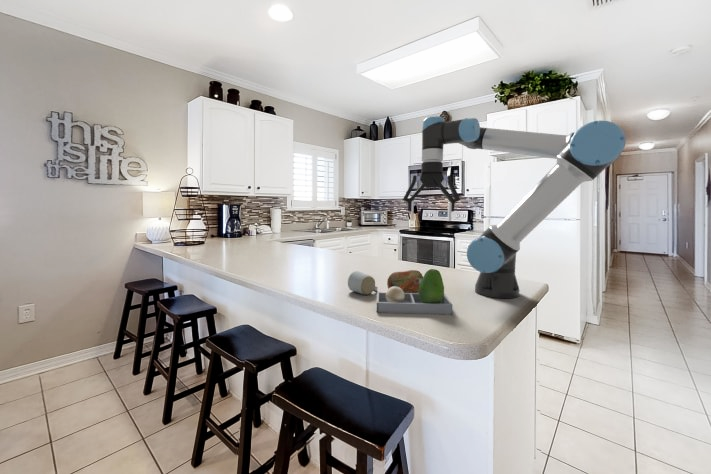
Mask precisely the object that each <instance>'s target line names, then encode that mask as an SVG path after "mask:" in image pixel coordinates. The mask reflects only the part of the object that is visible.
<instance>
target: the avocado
mask: <svg viewBox="0 0 711 474" xmlns="http://www.w3.org/2000/svg"><path fill="white" fill-rule="evenodd" d="M418 293H419V296H420V299H421V301H422V303H430V304H440V303H441V301H442V299H443V296H444V294H445V285H444V281H443V277H442V274H441V272H440V271H439V270H438V269H436V268H431V269H428V270H427V271H426V272H425V273H424V275H423V279H422V280H421V283H420V285H419V291H418Z"/></svg>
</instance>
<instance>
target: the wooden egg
mask: <svg viewBox="0 0 711 474" xmlns="http://www.w3.org/2000/svg"><path fill="white" fill-rule="evenodd" d="M385 293H386V300H387V301H388V302H393V303H402V302H403V300H404V297H405V295H404V292H403V290H402V289H401V288H399V287H396V286H393V287H391V288H389V289H388V288H387V290H386V291H385Z"/></svg>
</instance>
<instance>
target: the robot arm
mask: <svg viewBox="0 0 711 474" xmlns="http://www.w3.org/2000/svg"><path fill="white" fill-rule="evenodd" d="M421 134H422V135H421V136H422V137H421V139H422V140H421V141H422V142H421V145H422V146H421V162H422V163H421V167H420V168H421V171H420V173H421V174H420V176H419V175H418V176H417V175H413V176H412V177H411V178H412V179H411V182H410V184H409V186H408V188H407V191H406V192H405V194H404V196H403V199H402V200H403V202H407V211H408V212H410V221H414V210H415V209H414V205H415V204H414V202H413V201H414V200H415V198H416V197H417V196H418V195H419V194H420V193H421V191H423V190H424V189H425V188H427V189H431V188H432V189H439V190H440V191H441V193H442V194H443V195H444V196H445V197H446V199H447V200H448V201H449V202H448V203H447V218H446V220H447V222H451V221H452V212H455V205H456V204H455V203H457V202H459V201H460V200H461V198H460V196H459V194H458V192H457V189H456V188H455V186H454V184H453V179H452V175H446V176H444V173H443V171H444V170H443V161H444V145H448V144H450V145H451V144H460V145H462V146H464V147H466V148H467V149H470V150H477V149H478V150H487V151H492V152H493V151H494V152H502V153H507V154H508V153H509V154H515V155H516V154H517V155H523V156H531V157H539V158H545V159H546V158H547V159H553V160H554V159H555V160H556V164H555V165H554V166H553V167H552V168H551V169H550V170H549V171H548V172H546V174H545V175H544V177H542V178H541V180H540V181H539V182H537V183H536V185H535V186H534V187H532V189H531V190H530V191H529V192H528V193H527V194H526V195H525V196H523V198H522V199H521V200H520V201H519V202H518V203H517V204H516V205H515V206H514V207H513V209H512V210H511V211H509V213H507V214H506V215H505V217H504V218H503V219H502V220H501V221H500V222H499V223H498V224H491V225H490V226H489V227H487V228H486V230H484V231H483V232H482V234H480V236H479V237H477V238H474V239H473V240H472V241H471V242H470V243H469V245H468V247H467V249H466V259H467V261H468V263H469V265H470V266H471V267H472V268H473V269H474V270H476V271H478V272H479V274H478V277H477V278H476V279H477V280H476V283H475V285H474V286H475V287H474V291H475V293H476V294H479V295H480V296H484V297H490V298H495V299H514V298H518V297H519V296H520V286H519V284H518V280H517V276H516V263H517V261H516V260H517V259H516V258H517V253H518V252H519V251H520V250H521V242H522V241H523V240H524V239H525V238H526V237H527V236H528V235H529V234H530V233H531V232H532V231H534V229H536V228H537V227H538V226H539V225H540V224H541V223H542V222H543V221H544V220H545V219H546V218H547V217H548V216H549V215H550V214H551V213H552V212H553V211H554V210H555V209H556V208H558V206H559V205H560V204H562V202H564V200H566V198H568V197H569V196H570V195H571V194H572V193H573V192H574V191H575V190H576V189H577V188H579V186H580V185H581V184H582V183H585V182H593V181H594V180H595V179H596V178H597V177H598V176H599V175H600V174H601V173H602V172H603V171H604V170H605V169H606V168H608V167H609V166H611V165H613V164H614V163H615V162H617V160H619V157H620V156H621V155H622V153H623V151H624V149H625V147H626V135H625V133H624V131H623V130H622V128H621V126H619V125H618V124H616V123H614V122H612V121H610V120H594V121H591V122H587V123H586V124H584V125H581V126H580V127H579V128H578V129H577V130H576V131H575V132H574V131H573V132H571V133H569V134H555V133H547V132H546V133H544V132H533V131H524V130H513V129H501V128H491V127H489V128H488V127H481V126H480V122H479V120H478V118H476V117H471V118H462V119H457V120H450V121H445V118H444V117H443V116H437V115H436V116H428V117H425V118H424V119H423V121H422V130H421ZM419 181H420V182H421V183H422V184H420V186H419V187H418V188H417V189H416V191H415V192H414V193H413V194H412V195H410V194H411V192H412V190H413V188H414V186H415V185H416V183H417V182H419ZM443 181H445V183H447V186H448V188H449V189H450V192H451V194H452V195H451V194H450V192H448V190H447V189H446V188H445V186H444V185H443V184H442V182H443Z"/></svg>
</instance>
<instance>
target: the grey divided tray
mask: <svg viewBox="0 0 711 474" xmlns="http://www.w3.org/2000/svg"><path fill="white" fill-rule="evenodd" d="M404 295H405V297H404V300H403V302H402V303H393V302H388V301H387V300H386V292H381V291H380V292H379V291H376V313H390V314H391V313H395V314H421V315H422V314H423V315H427V314H428V315H453V303H452V302H451V301H450V299H449V298H448V296H447V294H446V293H444V296H443V299H442V301H441V303H440V304H430V303H422V301H421V299H420V296H419V292H416V293H404Z"/></svg>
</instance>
